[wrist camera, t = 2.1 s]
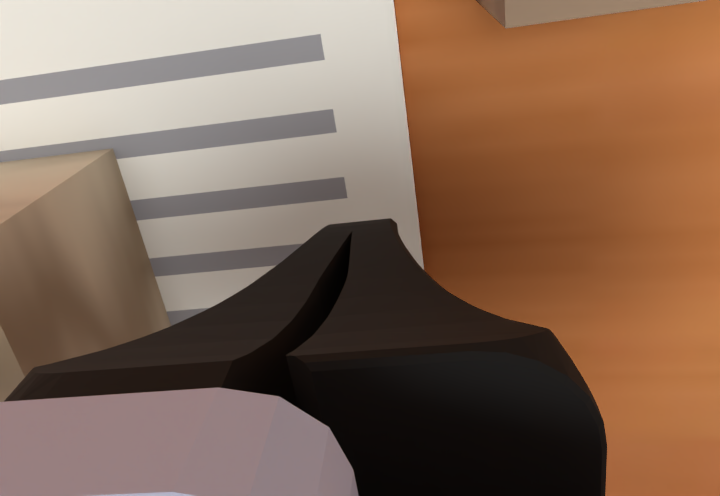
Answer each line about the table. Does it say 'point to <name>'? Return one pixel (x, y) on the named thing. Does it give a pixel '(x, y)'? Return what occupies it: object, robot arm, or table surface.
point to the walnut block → (563, 9)
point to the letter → (218, 123)
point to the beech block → (70, 263)
